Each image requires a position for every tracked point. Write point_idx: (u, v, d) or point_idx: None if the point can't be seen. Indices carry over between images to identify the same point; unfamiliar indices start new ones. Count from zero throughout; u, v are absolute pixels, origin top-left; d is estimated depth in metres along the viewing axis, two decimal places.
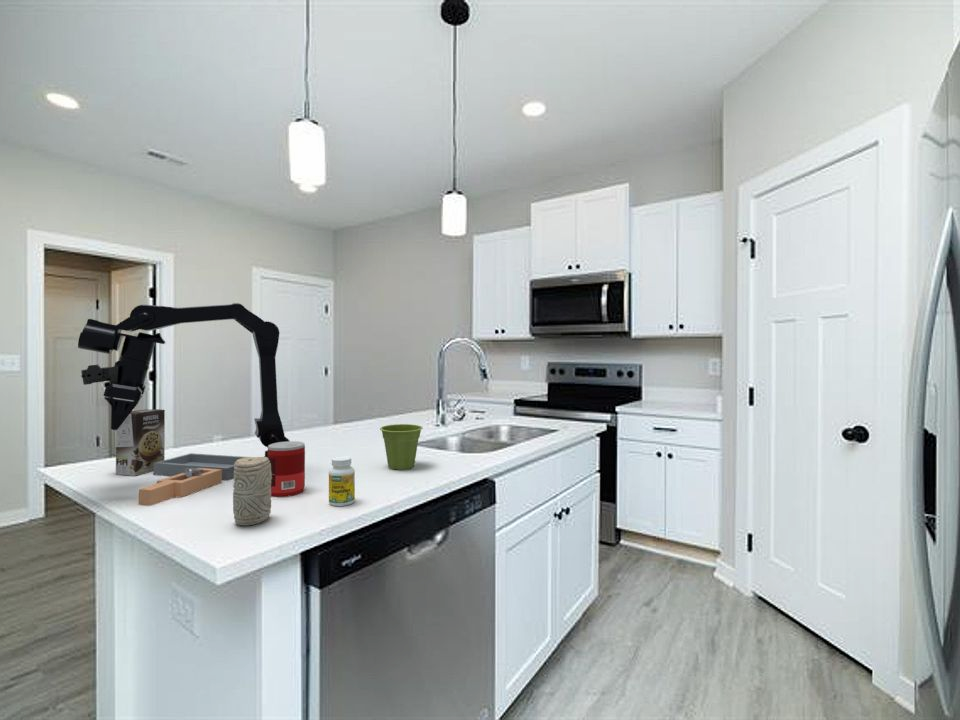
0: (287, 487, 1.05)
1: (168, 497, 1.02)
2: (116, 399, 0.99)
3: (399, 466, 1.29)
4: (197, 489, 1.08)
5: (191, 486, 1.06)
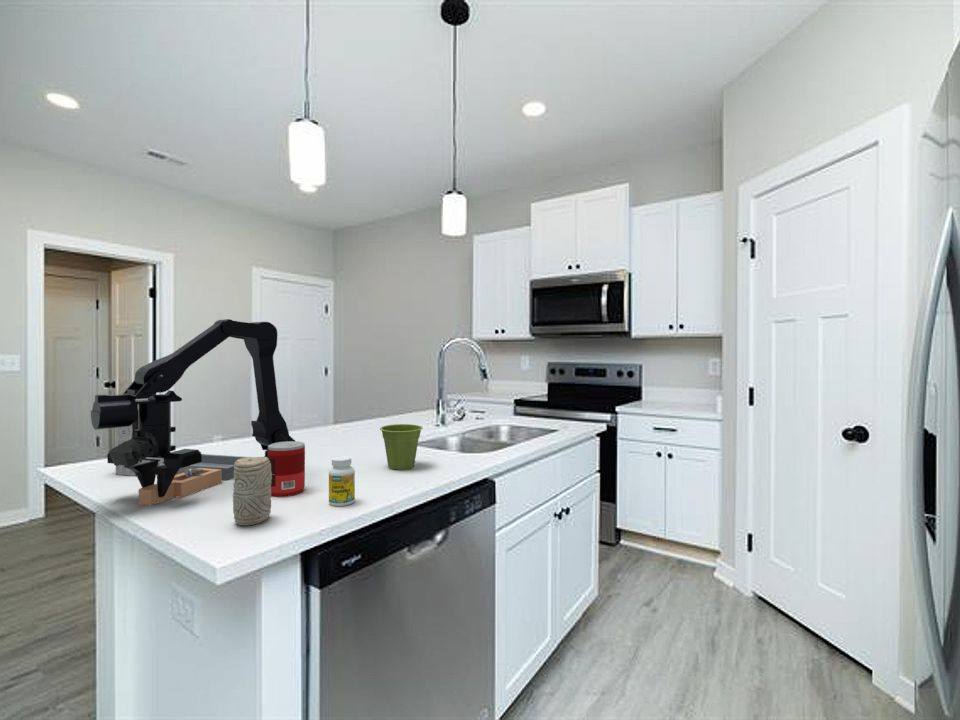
0: (287, 487, 1.05)
1: (168, 497, 1.02)
2: None
3: (399, 466, 1.29)
4: (197, 489, 1.08)
5: (191, 486, 1.06)
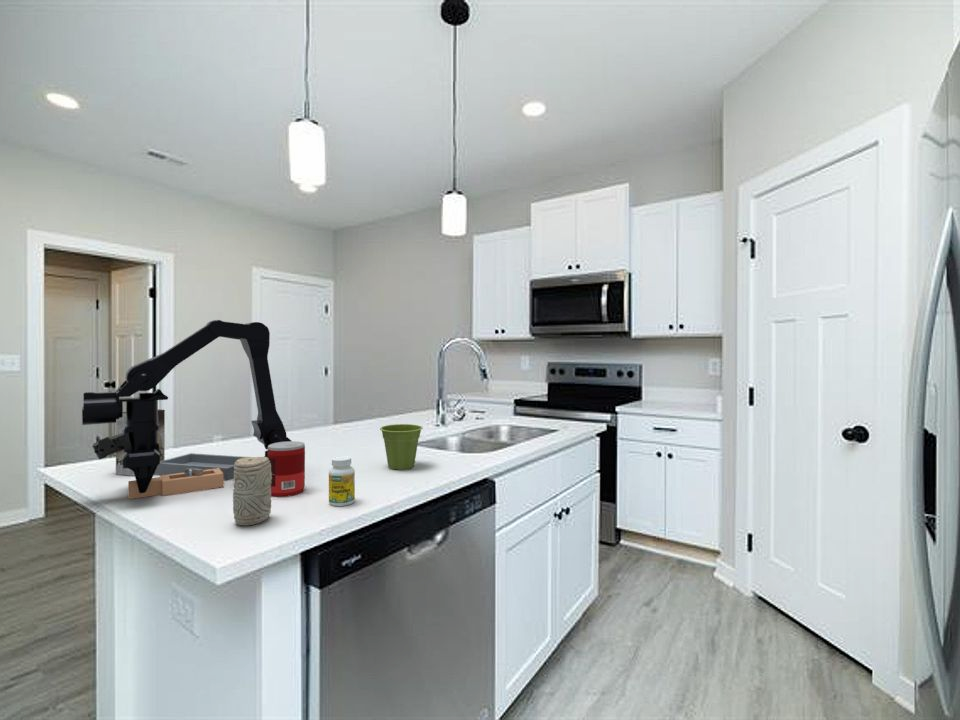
0: (287, 487, 1.05)
1: (153, 493, 1.05)
2: None
3: (399, 466, 1.29)
4: (186, 490, 1.07)
5: (177, 486, 1.06)
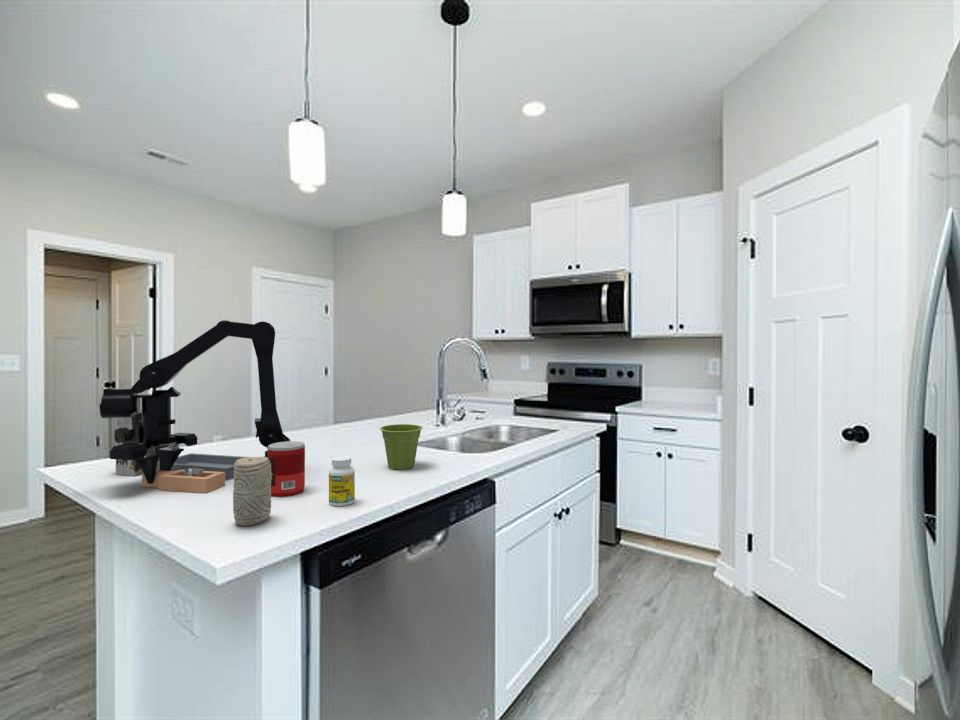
0: (287, 487, 1.05)
1: (158, 486, 1.10)
2: None
3: (399, 466, 1.29)
4: (176, 489, 1.08)
5: (169, 484, 1.08)
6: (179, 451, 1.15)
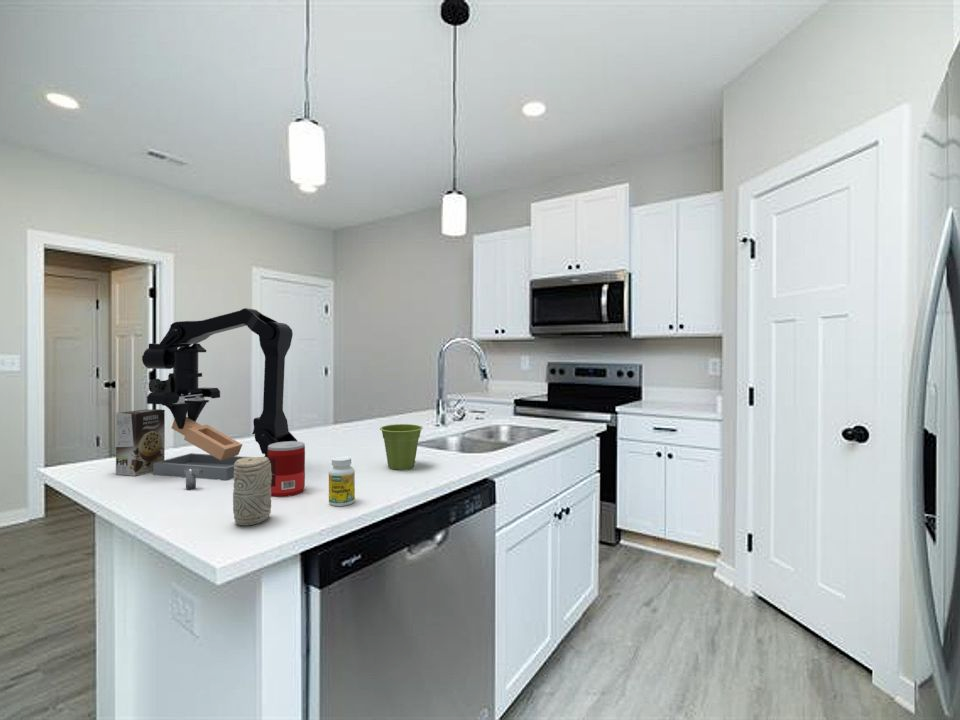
0: (287, 487, 1.05)
1: (184, 434, 1.24)
2: (167, 403, 1.21)
3: (399, 466, 1.29)
4: (198, 446, 1.21)
5: (194, 438, 1.22)
6: (205, 402, 1.28)
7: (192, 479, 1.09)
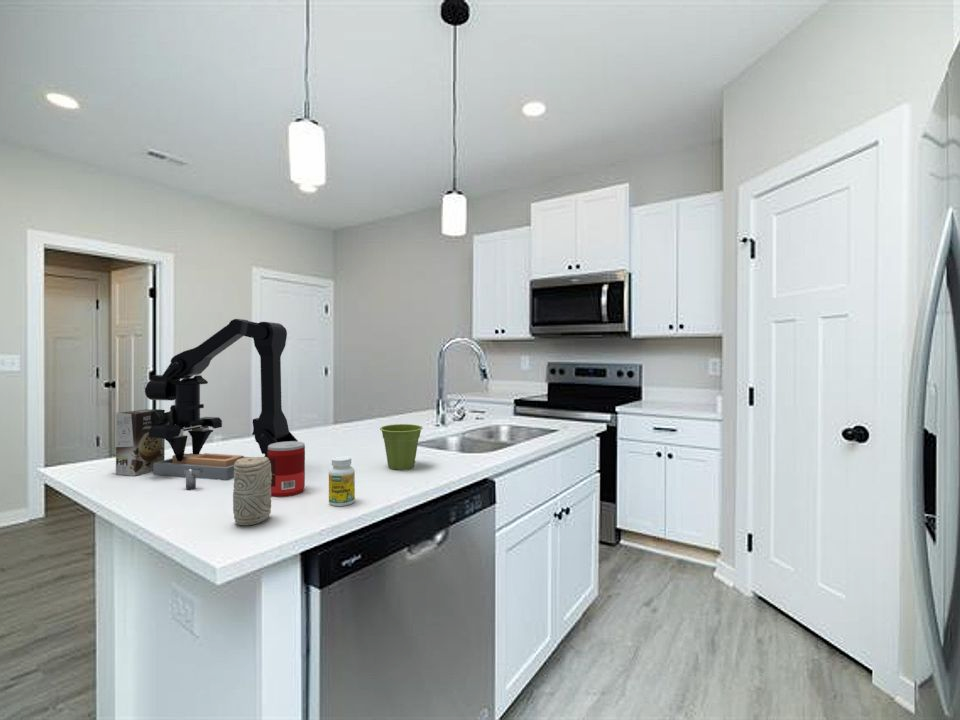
0: (287, 487, 1.05)
1: None
2: None
3: (399, 466, 1.29)
4: None
5: None
6: (209, 432, 1.30)
7: (192, 479, 1.09)
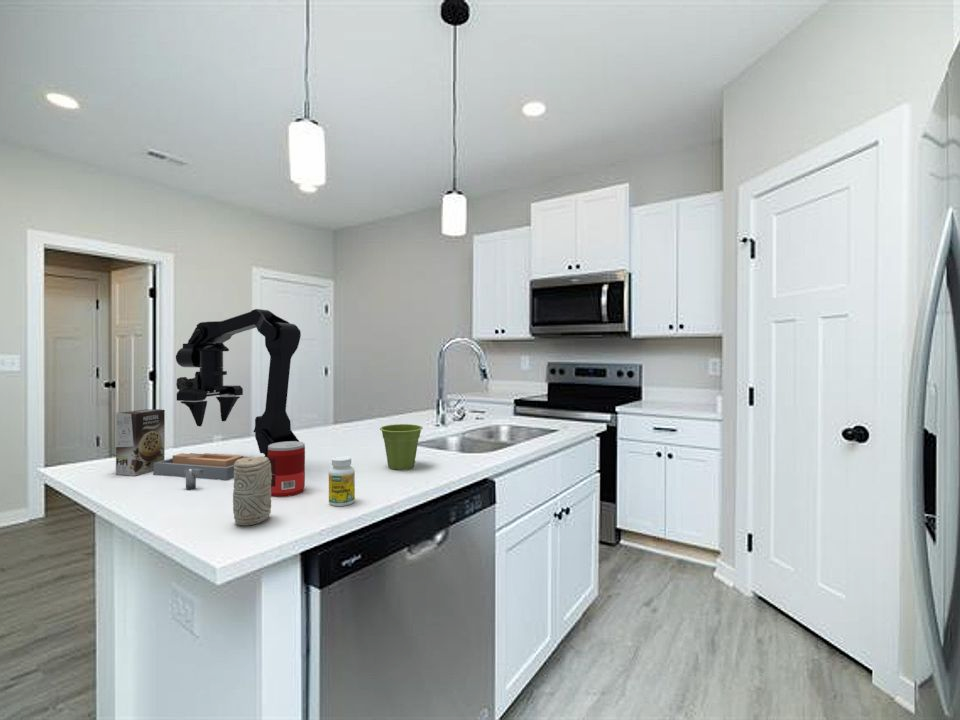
0: (287, 487, 1.05)
1: None
2: (186, 401, 1.24)
3: (399, 466, 1.29)
4: None
5: None
6: (236, 398, 1.37)
7: (192, 479, 1.09)
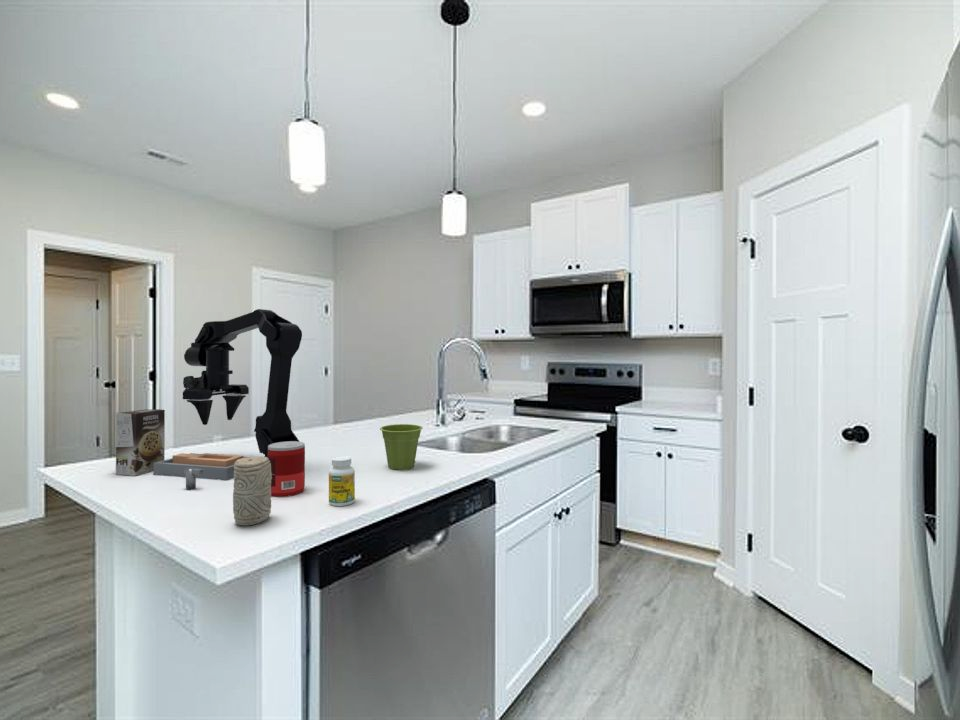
0: (287, 487, 1.05)
1: None
2: (192, 400, 1.25)
3: (399, 466, 1.29)
4: None
5: None
6: (242, 397, 1.38)
7: (192, 479, 1.09)
